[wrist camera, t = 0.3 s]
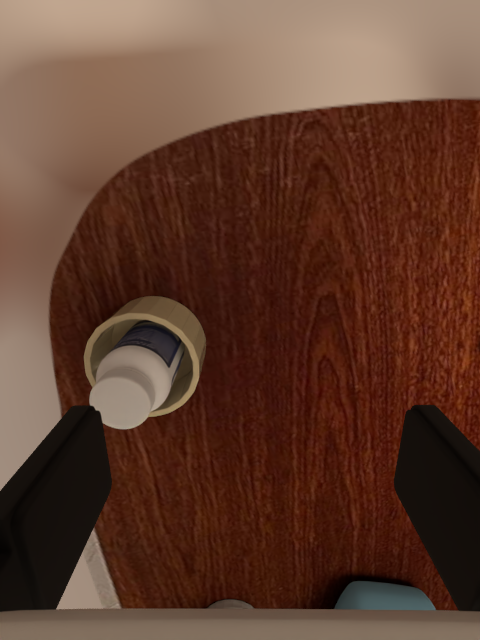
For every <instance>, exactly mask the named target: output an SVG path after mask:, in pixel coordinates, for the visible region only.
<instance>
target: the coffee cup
mask: <svg viewBox="0 0 480 640" xmlns="http://www.w3.org/2000/svg"><path fill="white" fill-rule="evenodd" d="M207 609H254V608H253V607H252V606H251V605H249V604H247V603H245V602H243V601H239V600H234V599H232V600H222V601H218V602H215V603H214V604H212V605H210V606H209V607H208V608H207Z"/></svg>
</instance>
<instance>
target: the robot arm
mask: <svg viewBox="0 0 480 640" xmlns="http://www.w3.org/2000/svg"><path fill="white" fill-rule="evenodd" d="M111 485H112V479H111V473H110V467H109V460H108V454H107V448H106V442H105V436H104V430H103V423H102V417H101V413H100V411H98V410H95V408H94V406H72V407H71V408H70V409H69V410H68V412H67V413H66V414H65V415H64V416H63V417H62V419H61V420H60V421H59V422H58V423H57V425H56V426H55V427H54V428H53V429H52V430H51V432H50V433H49V434H48V435H47V436H46V438H45V439H44V440H43V441H42V442H41V444H40V445H39V446H38V447H37V448H36V450H35V451H34V452H33V453H32V454H31V455H30V457H29V458H28V459H27V460H26V461H25V462H24V464H23V465H22V466H21V467H20V468H19V469H18V471H17V472H16V473H15V474H14V475H13V477H12V478H11V479H10V480H9V481H8V482H7V484H6V485H5V486H4V487H3V488H2V490H1V491H0V640H480V451H479V450H478V449H477V448H476V447H475V446H474V445H473V444H472V443H471V442H470V441H469V440H468V439H467V438H466V437H465V436H464V435H463V434H462V433H461V432H460V431H459V429H458V428H457V427H456V426H455V425H454V424H453V423H452V422H451V421H450V420H449V419H448V418H447V417H446V416H445V415H444V414H443V413H442V412H441V411H440V410H439V409H438V408H437V407H436V406H435V405H414V406H413V407H412V408H411V410H407V412H406V414H405V420H404V426H403V432H402V437H401V443H400V449H399V455H398V460H397V466H396V472H395V477H394V486H395V490H396V493H397V495H398V497H399V499H400V501H401V503H402V505H403V506H404V508H405V510H406V512H407V514H408V516H409V518H410V520H411V522H412V523H413V525H414V527H415V529H416V531H417V533H418V535H419V537H420V539H421V540H422V542H423V544H424V546H425V548H426V550H427V552H428V554H429V555H430V557H431V559H432V561H433V563H434V565H435V567H436V569H437V571H438V572H439V574H440V576H441V578H442V580H443V582H444V584H445V586H446V588H447V589H448V591H449V593H450V595H451V597H452V599H453V601H454V603H455V604H456V606H457V608H458V610H459V611H445V610H357V609H65V610H64V609H63V610H62V609H59V610H56V608H57V606H58V604H59V601H60V599H61V597H62V595H63V593H64V591H65V589H66V586H67V584H68V582H69V580H70V578H71V575H72V573H73V571H74V569H75V567H76V564H77V562H78V560H79V558H80V556H81V554H82V552H83V550H84V547H85V545H86V543H87V541H88V539H89V537H90V534H91V532H92V530H93V528H94V526H95V524H96V521H97V519H98V517H99V515H100V513H101V511H102V508H103V506H104V504H105V502H106V500H107V498H108V495H109V493H110V490H111Z"/></svg>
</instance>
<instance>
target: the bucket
mask: <svg viewBox="0 0 480 640" xmlns="http://www.w3.org/2000/svg"><path fill="white" fill-rule="evenodd" d="M141 320H149V321H152V322H155V323H158V324H161V325H164V326H165V327H167V328H168V329H170V330H171V331H172V332H174V333H175V334H177V335H178V336H179V338H180V339H181V340H182V341H183V343H184V344H185V352H184V356H183V359H182V362H181V365H180V367H179V369H178V372H177V375H176V377H175V380H174V382H173V385H172V387H171V390H170V392H169V394H168V396H167V398H166V400H165V401H164V402H163V404H162V405H161V406H159V407H158V408H157V409H155V410H153V411H151V412H150V413H149V415H148V417H155V416H159V415H163V414H167V413H170V412H172V411H174V410H175V409H177V408H179V407H180V406H182V405H183V404H185V402H186V401H187V400H188V399H189V398H190V396H191V395H192V394H193V393H194V391H195V388H196V385H197V382H198V380H199V376H200V372H201V369H202V365H203V361H204V357H205V349H206V341H205V335H204V331H203V329H202V326H201V324H200V322H199V321H198V319H197V318H196V317H195V315H194V314H193V313H192V312H191V311H190V310H189V309H187V308H186V307H185V306H183V305H182V304H180V303H178V302H176V301H174V300H172V299H169V298H165V297H159V296H146V297H141V298H137V299H134V300H132V301H130V302H128V303H127V304H125V305H124V306H123V307H121V308H120V309H118V310H117V311H116V312H115V313H114V314H112V315H111V316H110V317H109V318H108V319H107V320H105V321H104V322H103V323H102V324H101V325H99V326H98V327H97V328H96V330H95V331H94V332H93V334H92V335H91V337H90V338H89V340H88V342H87V345H86V349H85V354H84V364H85V372H86V375H87V378H88V380H89V382H90V384H91V386H92V388H93V387H94V385H95V384H96V373H97V369H98V367H99V365H100V363H101V361H102V360H103V359H104V358H105V356H106V355H107V354H108V353H109V352H110V351H111V350H112V349H113V348H114V346H115V345H116V344H117V343H118V342H119V341H120V340H121V338H122V337H123V336H124V335H125V334H126V333H127V332H128V331H129V329H130V328H131V327H132V326H133V325H135V324H136V323H137V322H139V321H141Z"/></svg>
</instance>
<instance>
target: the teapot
mask: <svg viewBox="0 0 480 640" xmlns="http://www.w3.org/2000/svg"><path fill="white" fill-rule="evenodd" d="M334 609H357V610H436V609H435V607H434V605H433V604H432V602H431V601H430V600H429V598H428V597H427V596H426V595H425V594H424V593H423V592H422V591H421V590H420V589H418V588H415V587H410V586H404V585H398V584H390V583H382V582H371V581H354V582H351V583H350V584H349V585H348V586H347V587H346V588H345V590H344V591H343V593H342V594H341V596H340V598H339V600H338V601H337V603H336V605H335V608H334Z"/></svg>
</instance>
